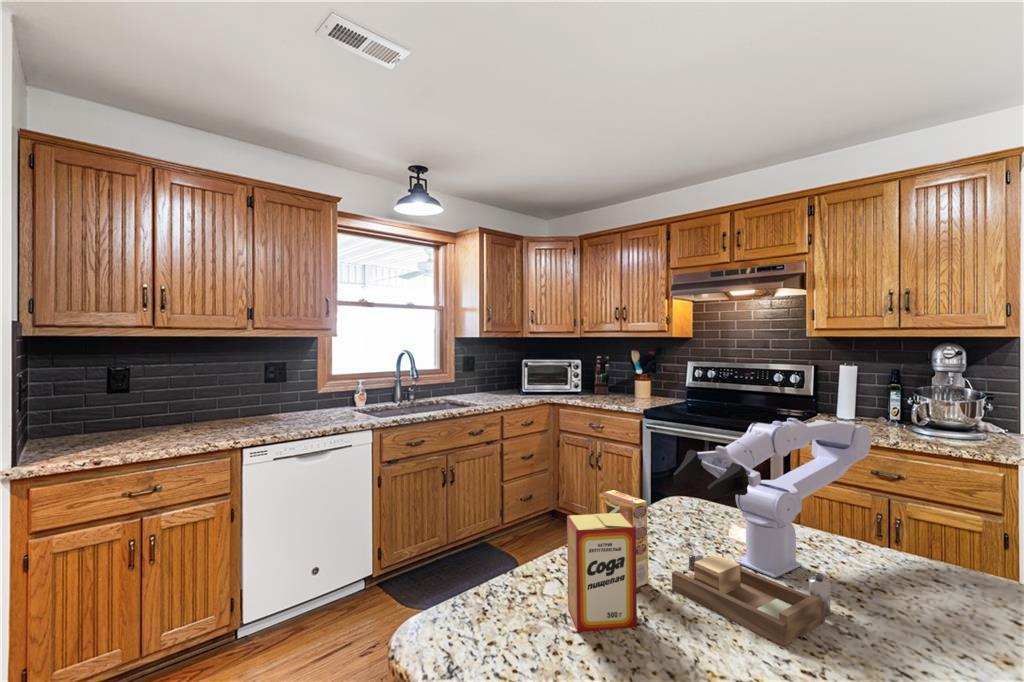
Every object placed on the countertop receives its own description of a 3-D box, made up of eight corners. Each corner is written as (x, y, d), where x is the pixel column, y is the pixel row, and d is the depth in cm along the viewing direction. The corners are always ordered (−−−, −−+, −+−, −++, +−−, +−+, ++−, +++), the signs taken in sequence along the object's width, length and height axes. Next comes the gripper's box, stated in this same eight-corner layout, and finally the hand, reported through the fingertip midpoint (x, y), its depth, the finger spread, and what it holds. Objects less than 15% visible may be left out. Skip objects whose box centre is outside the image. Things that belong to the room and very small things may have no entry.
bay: (713, 572, 95) (713, 551, 95) (825, 621, 78) (824, 595, 78) (672, 589, 88) (671, 566, 88) (783, 646, 71) (782, 618, 71)
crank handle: (697, 559, 101) (697, 546, 101) (703, 561, 100) (703, 547, 100) (688, 570, 96) (688, 556, 96) (694, 572, 95) (694, 558, 95)
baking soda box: (577, 632, 75) (576, 527, 75) (568, 609, 82) (567, 513, 82) (636, 627, 76) (635, 524, 76) (623, 605, 83) (621, 510, 83)
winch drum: (814, 604, 83) (814, 568, 83) (834, 612, 80) (833, 575, 80) (805, 609, 81) (804, 572, 81) (824, 617, 79) (824, 580, 79)
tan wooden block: (716, 575, 91) (715, 554, 91) (741, 586, 87) (740, 564, 87) (693, 584, 88) (693, 562, 88) (718, 596, 83) (718, 573, 83)
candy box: (649, 583, 90) (648, 500, 90) (633, 590, 88) (632, 504, 88) (614, 566, 98) (614, 489, 98) (599, 571, 95) (598, 492, 95)
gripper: (705, 428, 99) (657, 454, 93) (773, 447, 87) (723, 478, 81) (710, 460, 101) (663, 488, 95) (777, 483, 88) (728, 516, 82)
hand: (691, 486), depth 88 cm, fingers open, 7 cm apart
